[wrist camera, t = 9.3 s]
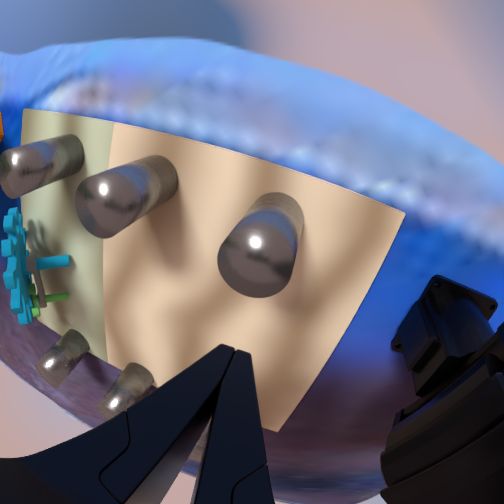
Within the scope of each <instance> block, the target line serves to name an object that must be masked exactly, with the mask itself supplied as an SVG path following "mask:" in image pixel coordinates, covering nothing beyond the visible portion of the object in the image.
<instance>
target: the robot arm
mask: <svg viewBox="0 0 504 504" xmlns="http://www.w3.org/2000/svg"><path fill="white" fill-rule="evenodd" d="M438 281H440V283H439V284H437V285H435V283H436V282H438ZM492 304H493V305H492ZM491 305H492V306H491ZM490 306H491V307H490ZM497 307H498V304H497V302H496V300H495V299H494V298H491V297H489V296H487V295H485V294H483V293H480V292H478V291H476V290H473V289H471V288H469V287H467V286H464V285H462V284H460V283H457V282H455V281H453V280H450V279H448V278H446V277H443V276H441V275H435V276H433V277H432V278H431V280H430V281H429V283H428V285H427V287H426V288H425V290H424V292H423V293H422V295H421V297H420V298H419V300H418V301H416V302H415V304H414V305H413V307H412V308H411V310H410V312H409V313H408V315H407V316H406V318H405V319H404V321H403V322H402V324H401V326H400V327H399V331H398V333H397V334H396V336H395V337H394V339H393V340H392V342H391V346H392V349H393V350H394V351H397V352H401V353H404V356H405V361H406V366H407V370H408V371H410V372H412V376H413V381H414V387H415V392H416V395H417V396H419V397H421V398H420V399H418V400H417V401H416V402H414V403H413V404H411V405H410V406H409V407H407V408H406V409H402V410H400V411H399V412H398V413H396V416H395V420H394V423H393V427H392V430H391V432H390V433H389V435H388V438H387V443H386V448H385V451H384V452H382V453H381V456H380V462H381V471H382V475H383V479H384V482H385V484H386V486H387V488H385V489H383V490H381V491H380V495H381V497H382V498H383V499H384V500H385V502H386V503H387V504H504V322H503V323H502V324H501V325H500V326H499V327H498V328H497V330H498V331H497V332H496V333H494V331H493V330H492V328H491V326H490V324H489V322H488V321H489V319H490V318H491V316H492V315H493V313H494V312H495V310H496V309H497ZM398 343H400V344H399V345H396V344H398ZM211 416H212V417H211ZM210 419H211V421H210ZM209 421H210V425H209V428H208V432H207V437H206V441H205V445H204V449H203V453H202V457H201V461H200V465H199V470H198V474H197V478H196V482H195V486H194V490H193V494H192V498H191V503H190V504H275V501H274V498H273V493H272V488H271V483H270V478H269V471H268V465H266V463H267V459H266V452H265V446H264V439H263V432H262V425H261V418H260V412H259V405H258V398H257V391H256V383H255V376H254V369H253V362H252V356H251V354H250V353H249V352H246V351H243V350H240V349H237V350H236V351H235V348H234V347H231V346H228V345H225V344H219V345H218V346H216V347H215V348H214V349H212V350H211V351H210V352H208V353H207V354H205V355H204V356H203V357H201V358H200V359H198V360H197V361H196V362H194V363H193V364H191V365H190V366H189V367H187V368H186V369H184V370H183V371H181V372H180V373H179V374H177V375H176V376H174V377H173V378H171V379H170V380H169V381H167V382H166V383H164V384H163V385H161V386H160V387H158V388H157V389H155V390H154V391H152V392H151V393H149V394H148V395H146V396H145V397H143V398H142V399H140V400H139V401H137V402H136V403H134V404H133V405H131V406H130V407H128V408H127V409H126V411H125V410H124V411H122V412H120V413H119V414H117V415H116V416H114V417H113V418H111V419H109V420H108V421H106V422H104V423H103V424H101V425H99V426H97V427H96V428H94V429H92V430H89V431H87V432H85V433H83V434H81V435H79V436H77V437H75V438H72V439H70V440H68V441H66V442H63V443H60V444H58V445H56V446H53V447H51V448H48V449H46V450H43V451H41V452H38V453H36V454H33V455H29V456H25V457H19V458H0V504H160V503H161V501H162V500H163V498H164V497H165V495H166V494H167V492H168V490H169V489H170V487H171V485H172V484H173V482H174V480H175V479H176V477H177V476H178V474H179V472H180V471H181V469H182V467H183V466H184V464H185V462H186V461H187V459H188V457H189V456H190V454H191V452H192V451H193V449H194V447H195V445H196V444H197V442H198V440H199V439H200V437H201V435H202V433H203V432H204V430H205V428H206V426H207V425H208V423H209Z"/></svg>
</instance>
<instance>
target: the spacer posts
mask: <svg viewBox="0 0 504 504" xmlns="http://www.w3.org/2000/svg"><path fill="white" fill-rule="evenodd" d="M84 159H85V153H84V147H83V145H82V142H81V141H80V139H79V138H78V137H77V136H75V135H73V134H66V135H62V136H57V137H53V138H49V139H45V140H41V141H37V142H33V143H29V144H25V145H22V146H18V147H15V148H11V149H8V150H5V151H4V152H3V153H2V154H1V156H0V184H1V187H2V189H3V191H4V193H5V194H6V195H7V196H8V197H9V198H11V199H16V198H18V197H20V196H22V195H25V194H27V193H29V192H32V191H34V190H36V189H39V188H41V187H44V186H46V185H48V184H51V183H53V182H56V181H59V180H61V179H64V178H66V177H69V176H72V175H74V174H77V173H78V172H79V171H80V170H81V168H82V166H83V164H84ZM177 188H178V174H177V171H176V169H175V167H174V165H173V164H172V163H171V161H169V160H168V159H167V158H165V157H163V156H160V155H151V156H147V157H144V158H141V159H138V160H135V161H132V162H129V163H126V164H123V165H120V166H117V167H114V168H112V169H109V170H106V171H103V172H100V173H98V174H95V175H92V176H90V177H87V178H85V179H84V180H83V181H82V182H81V183H80V184H79V186H78V188H77V190H76V194H75V208H76V212H77V215H78V218H79V220H80V222H81V223H82V225H83V226H84V228H85V229H86V230H87V231H88V232H89V233H90V234H92V235H93V236H95V237H98V238H101V239H108V238H111V237H113V236H115V235H116V234H118V233H119V232H121V231H122V230H124V229H125V228H127V227H128V226H130V225H131V224H133V223H134V222H136V221H137V220H139V219H140V218H142V217H143V216H145V215H146V214H148V213H150V212H151V211H153V210H154V209H156V208H157V207H159V206H161V205H162V204H164V203H165V202H167V201H169V200H170V199H171V198H172V197H173V196H174V195H175V193H176V191H177ZM303 223H304V215H303V211H302V209H301V207H300V205H299V204H298V202H297V201H296V200H295V199H294V198H292V197H291V196H289V195H287V194H285V193H281V192H270V193H266V194H264V195H262V196H260V197H259V198H258V199H257V200H256V201H255V202H254V203H253V205H252V206H251V207H250V208H249V210H248V211H247V212H246V213H245V215H244V216H243V217H242V218H241V220H240V221H239V222H238V224H237V225H236V226H235V227H234V229H233V230H232V231H231V232H230V234H229V235H228V236H227V238H226V239H225V240H224V241H223V243H222V244H221V246H220V248H219V251H218V255H217V264H218V269H219V272H220V274H221V276H222V278H223V279H224V281H225V282H226V283H227V284H228V285H229V286H230V287H231V288H232V289H233V290H235V291H236V292H238V293H240V294H242V295H244V296H248V297H252V298H266V297H270V296H273V295H275V294H277V293H279V292H280V291H282V290H283V289H284V288H285V287H286V286H287V284H288V283H289V281H290V279H291V275H292V272H293V267H294V263H295V259H296V254H297V250H298V246H299V241H300V237H301V233H302V228H303ZM89 350H90V346H89V343H88V342H87V340H86V339H85V337H84V336H83V335H82V334H81V333H80V332H78V331H77V330H74V329H69V330H68V331H67V332H66V333H65V334H64V335H63V336H62V337H61V338H60V339H59V340H58V341H57V342H56V343H55V344H54V345H53V346H52V347H51V348H50V349H49V350H48V351H47V352H46V353H45V355H44V356H43V357H42V358H41V359H40V360H39V361H38V362H37V363H36V364H35V367H36V369H37V371H38V373H39V374H40V375H41V377H42V378H43V379H44V380H45V381H46V382H47V383H49V384H50V385H51V386H53V387H56V388H57V387H59V385H60V384H61V383H62V382H63V381H64V379H65V378H66V377H67V376H68V375H69V374H70V372H71V371H72V370H73V369H74V368H75V367H76V365H77V364H78V363H79V362H80V361H81V360H82V358H83V357H84V356H85V355H86V354H87V353H88V352H89ZM153 382H154V377H153V375H152V374H151V372H150V371H149V370H148V369H146V368H145V367H144V366H142V365H140V364H138V363H134V362H131V363H128V364H127V366H126V367H125V368H124V370H123V371H122V372H121V374H120V375H119V377H118V378H117V379H116V381H115V382H114V384H113V385H112V386H111V388H110V389H109V390H108V392H107V393H106V395H105V396H104V397H103V399H102V400H101V402H100V403H99V404H98V406H97V409H98V411H99V413H100V414H101V415H102V416H103V417H104V418H105V419H107V420H109V419H111V418H113V417H114V416H116V415H117V414H119V413H120V412H122V411H124V410H125V411H126V409H127V408H128V407H130V406H131V405H133V404H134V403H136V402H137V401H139V400H140V399H142V398H143V397H145V395H146V394H147V392H148V391H149V389H150V387H151V386H152V384H153ZM211 417H212V416H211ZM210 421H211V419H210ZM210 421H209V423H208V425H207V426H206V428H205V430H204V432H203V433H202V435H201V437H200V439H199V440H198V442H197V444H196V445H195V447H194V449H193V451H192V452H191V454H190V456H189V457H188V459H190V460H192V461H196V462H200V461H201V457H202V453H203V449H204V445H205V441H206V437H207V432H208V428H209V425H210Z"/></svg>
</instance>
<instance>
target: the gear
mask: <svg viewBox="0 0 504 504" xmlns="http://www.w3.org/2000/svg"><path fill="white" fill-rule="evenodd" d="M3 229H4V232H5V233H7V234H8V239H6V240H1V250H2V257H3V258H7V257H8V264H7V270H6V272H4V282H5V286H6V289H7V290H10V289H11V302H10V303H11V310H12V312H13V313H14V314H18V321H19V324H20V325H21V324H28V323H30V322H33V317H40V316H41V314H40V308H46V307H47V303H48V302H55V301H62V300H68V296H67V292H64V293H57V294H49V295H45V291H44V287H43V283H42V279H41V274H40V270H43V269H51V268H59V267H67V266H70V263H69V255H60V256H51V257H43V258H37V256H36V255H30V256H29V250H26V240H27V234H26V230H25V228H23V215H22V214H19V210H18V207H16V208H10V209H9V210H8V215H7V216H4V222H3ZM32 274H33V276H34V279H35V283H36V287H37V295H36V288H35V284H34V283H32V276H31V275H32ZM39 307H40V308H39Z"/></svg>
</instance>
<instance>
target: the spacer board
mask: <svg viewBox="0 0 504 504" xmlns="http://www.w3.org/2000/svg"><path fill="white" fill-rule="evenodd" d="M66 134H73V135H75V136H77V137H78V138H79V139H80V141H81V142H82V145H83V147H84V153H85V159H84V164H83V166H82V168H81V170H80V171H79V172H78V173H77V174H74V175H72V176H69V177H66V178H64V179H61V180H59V181H56V182H53V183H51V184H48V185H46V186H44V187H41V188H39V189H36V190H34V191H32V192H29V193H27V194H25V195H22V196H21V212H22V215H23V228H25V230H26V234H27V240H26V250H29V256H30V255H36V256H37V258H43V257H51V256H60V255H69V263H70V266H67V267H59V268H51V269H43V270H40V274H41V279H42V283H43V287H44V291H45V295H49V294H57V293H64V292H67V296H68V300H62V301H55V302H48V303H47V307H46V308H40V307H39V308H40V314H41V316H40V317H37V319H38V320H39V321H40V322H42V323H43V324H45V325H46V326H48V327H49V328H51V329H52V330H54V331H55V332H57V333H58V334H60V335H61V336H63V335H64V334H65V333H66V332H67V331H68V330H69V329H74V330H77V331H78V332H80V333H81V334H82V335H83V336H84V337H85V339H86V340H87V342H88V343H89V346H90V350H89V352H90V353H91V354H93V355H95V356H97V357H98V358H100V359H102V360H104V361H106V362H107V363H109V364H111V365H113V366H115V367H117V368H119V369H121V370H124V368H125V367H126V366H127V364H128V363H131V362H134V363H138V364H140V365H142V366H144V367H145V368H146V369H148V370H149V371H150V372H151V374H152V375H153V377H154V382H153V384H152V385H153V386H155V387H157V388H158V387H160V386H161V385H163V384H164V383H166V382H167V381H169V380H170V379H171V378H173V377H174V376H176V375H177V374H179V373H180V372H181V371H183V370H184V369H186V368H187V367H189V366H190V365H191V364H193V363H194V362H196V361H197V360H198V359H200V358H201V357H203V356H204V355H205V354H207V353H208V352H210V351H211V350H212V349H214V348H215V347H216V346H218V345H219V344H225V345H228V346H231V347H234V348H235V351H236V350H237V349H240V350H243V351H246V352H249V353H250V354H251V356H252V362H253V369H254V376H255V383H256V391H257V398H258V405H259V412H260V418H261V425H262V428H266V429H269V430H272V431H276V432H278V431H279V430H280V428H281V427H282V426H283V424H284V423H285V422H286V420H287V419H288V417H289V416H290V415H291V413H292V412H293V411H294V409H295V408H296V406H297V405H298V403H299V402H300V401H301V399H302V398H303V396H304V395H305V393H306V392H307V390H308V389H309V388H310V386H311V385H312V383H313V382H314V380H315V379H316V377H317V376H318V374H319V373H320V371H321V369H322V368H323V366H324V365H325V363H326V362H327V360H328V359H329V357H330V355H331V354H332V352H333V351H334V349H335V347H336V346H337V344H338V342H339V341H340V339H341V337H342V336H343V334H344V332H345V331H346V329H347V327H348V326H349V324H350V322H351V320H352V319H353V317H354V315H355V313H356V312H357V310H358V308H359V306H360V305H361V303H362V301H363V299H364V297H365V295H366V294H367V292H368V290H369V288H370V286H371V284H372V282H373V280H374V279H375V277H376V275H377V273H378V271H379V269H380V267H381V265H382V263H383V261H384V259H385V257H386V255H387V253H388V251H389V249H390V247H391V245H392V243H393V240H394V238H395V236H396V234H397V232H398V230H399V228H400V225H401V223H402V221H403V219H404V216H405V213H404V212H402V211H400V210H398V209H395V208H393V207H391V206H388V205H386V204H384V203H381V202H379V201H376V200H374V199H371V198H369V197H366V196H364V195H361V194H359V193H356V192H354V191H351V190H348V189H346V188H343V187H341V186H338V185H335V184H332V183H330V182H327V181H324V180H322V179H319V178H316V177H313V176H310V175H307V174H305V173H302V172H299V171H296V170H293V169H290V168H287V167H284V166H281V165H278V164H275V163H272V162H268V161H265V160H262V159H259V158H256V157H252V156H249V155H246V154H242V153H239V152H236V151H232V150H229V149H225V148H222V147H218V146H214V145H211V144H207V143H203V142H200V141H196V140H192V139H188V138H184V137H180V136H176V135H172V134H168V133H164V132H159V131H155V130H151V129H146V128H142V127H137V126H132V125H127V124H122V123H117V122H112V121H107V120H102V119H96V118H90V117H85V116H79V115H72V114H66V113H59V112H52V111H45V110H37V109H28V108H26V109H24V110H23V120H22V133H21V146H22V145H25V144H29V143H33V142H37V141H41V140H45V139H49V138H53V137H57V136H62V135H66ZM151 155H160V156H163V157H165V158H167V159H168V160H169V161H171V163H172V164H173V165H174V167H175V169H176V171H177V174H178V188H177V191H176V193H175V195H174V196H173V197H172V198H171V199H170V200H169V201H167V202H165V203H164V204H162V205H161V206H159V207H157V208H156V209H154V210H153V211H151V212H150V213H148V214H146V215H145V216H143V217H142V218H140V219H139V220H137V221H136V222H134V223H133V224H131V225H130V226H128V227H127V228H125V229H124V230H122V231H121V232H119V233H118V234H116V235H115V236H113V237H111V238H108V239H101V238H98V237H95V236H93V235H92V234H90V233H89V232H88V231H87V230H86V229H85V228H84V226H83V225H82V223H81V222H80V220H79V218H78V215H77V212H76V208H75V194H76V190H77V188H78V186H79V184H80V183H81V182H82V181H83V180H84V179H85V178H87V177H90V176H92V175H95V174H98V173H100V172H103V171H106V170H109V169H112V168H114V167H117V166H120V165H123V164H126V163H129V162H132V161H135V160H138V159H141V158H144V157H147V156H151ZM270 192H281V193H285V194H287V195H289V196H291V197H292V198H294V199H295V200H296V201H297V202H298V204H299V205H300V207H301V209H302V211H303V215H304V223H303V228H302V233H301V237H300V241H299V246H298V250H297V254H296V259H295V263H294V267H293V272H292V275H291V279H290V281H289V283H288V284H287V286H286V287H285V288H284V289H283V290H282V291H280V292H279V293H277V294H275V295H273V296H270V297H266V298H252V297H248V296H244V295H242V294H240V293H238V292H236V291H235V290H233V289H232V288H231V287H230V286H229V285H228V284H227V283H226V282H225V281H224V279H223V278H222V276H221V274H220V272H219V269H218V264H217V255H218V251H219V248H220V246H221V244H222V243H223V241H224V240H225V239H226V238H227V236H228V235H229V234H230V232H231V231H232V230H233V229H234V227H235V226H236V225H237V224H238V222H239V221H240V220H241V218H242V217H243V216H244V215H245V213H246V212H247V211H248V210H249V208H250V207H251V206H252V205H253V203H254V202H255V201H256V200H257V199H258V198H259V197H260V196H262V195H264V194H266V193H270ZM31 276H32V283H34V284H35V288H36V295H37V287H36V283H35V279H34V276H33V274H32V275H31Z"/></svg>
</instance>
